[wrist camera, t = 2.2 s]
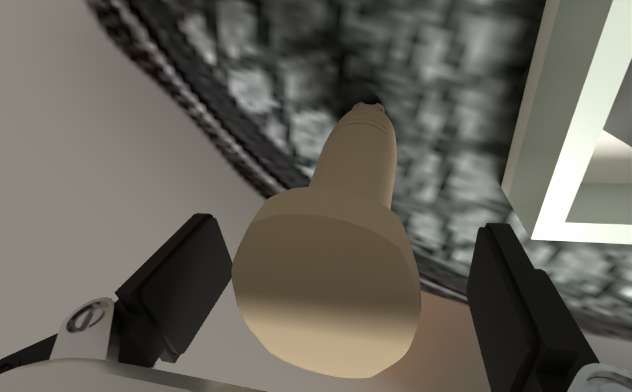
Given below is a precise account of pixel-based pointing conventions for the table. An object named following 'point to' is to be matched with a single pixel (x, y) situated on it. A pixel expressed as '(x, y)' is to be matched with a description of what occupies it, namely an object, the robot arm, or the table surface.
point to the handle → (334, 259)
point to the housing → (576, 126)
